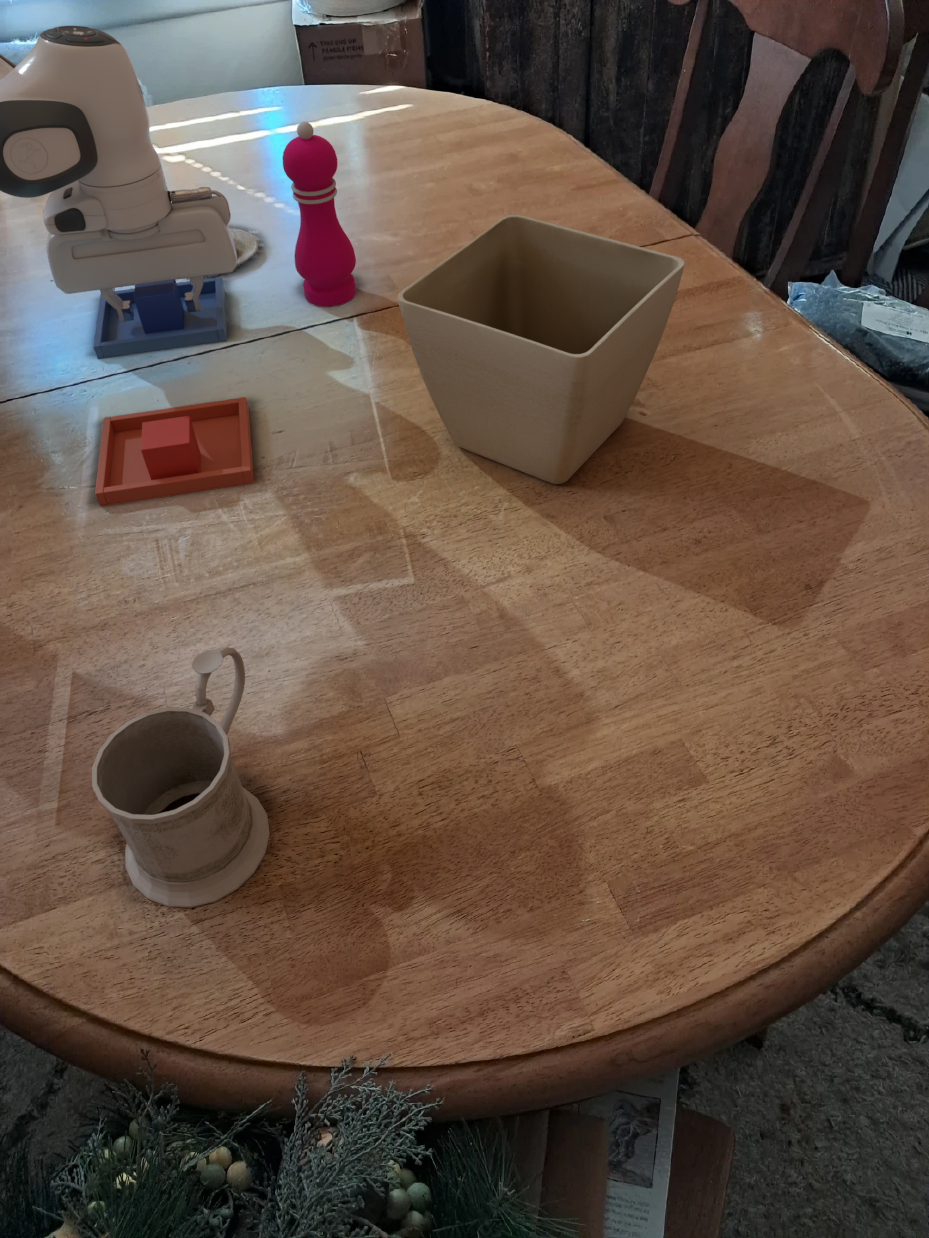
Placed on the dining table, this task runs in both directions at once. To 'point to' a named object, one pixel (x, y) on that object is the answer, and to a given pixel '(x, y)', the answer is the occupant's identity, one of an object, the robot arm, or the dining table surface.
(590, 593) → the dining table surface
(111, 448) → the red tray
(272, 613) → the dining table surface
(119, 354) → the blue tray
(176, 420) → the red block
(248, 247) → the pastry
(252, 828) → the mug
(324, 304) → the pepper mill
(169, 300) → the blue block
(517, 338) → the flower pot
